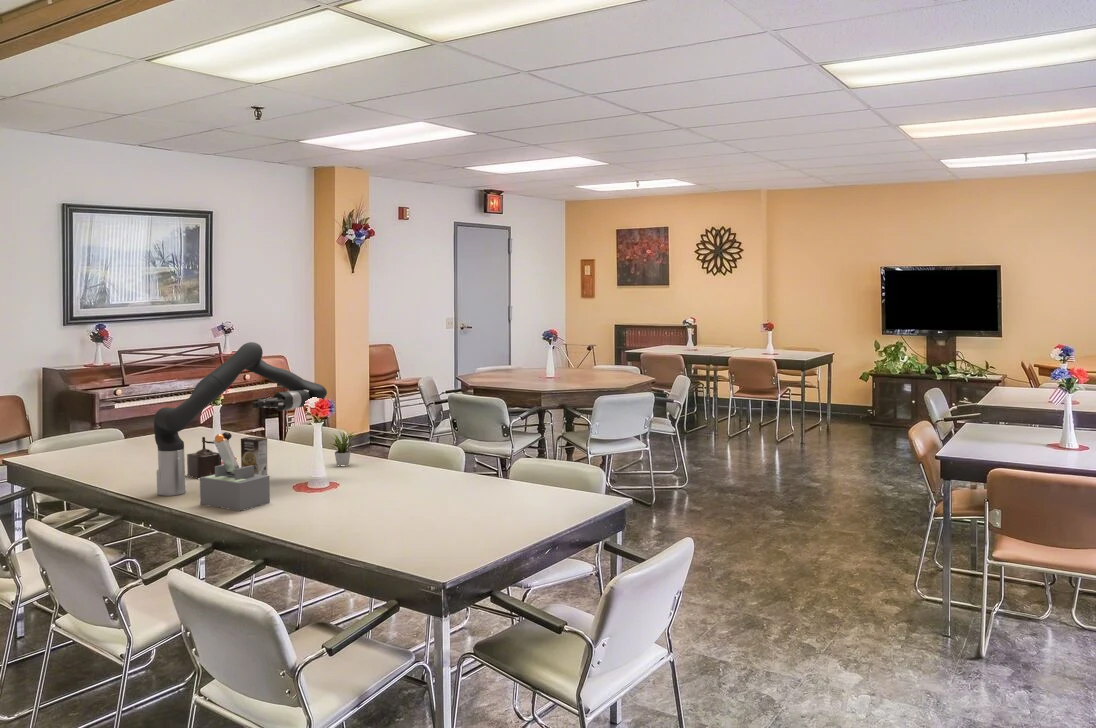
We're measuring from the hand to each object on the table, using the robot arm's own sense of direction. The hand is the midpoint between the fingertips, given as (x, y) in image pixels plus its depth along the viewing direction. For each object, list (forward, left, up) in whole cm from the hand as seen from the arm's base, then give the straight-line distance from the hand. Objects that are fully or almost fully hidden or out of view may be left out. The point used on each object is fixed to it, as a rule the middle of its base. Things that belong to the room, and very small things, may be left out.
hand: (254, 405), depth 314 cm
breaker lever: (-3, -18, -23) cm, 30 cm away
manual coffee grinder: (-26, +34, -34) cm, 55 cm away
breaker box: (-3, -19, -34) cm, 39 cm away
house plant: (+29, +48, -34) cm, 66 cm away
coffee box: (-7, +30, -34) cm, 46 cm away
